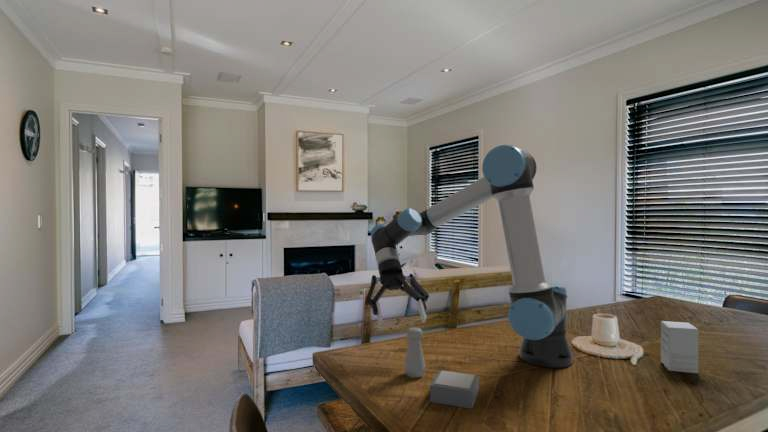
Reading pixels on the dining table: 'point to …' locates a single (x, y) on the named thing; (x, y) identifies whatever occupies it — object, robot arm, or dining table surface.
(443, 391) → the slate plinth
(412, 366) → the salt shaker
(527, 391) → the dining table surface
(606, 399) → the dining table surface
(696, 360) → the supplement box
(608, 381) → the dining table surface
